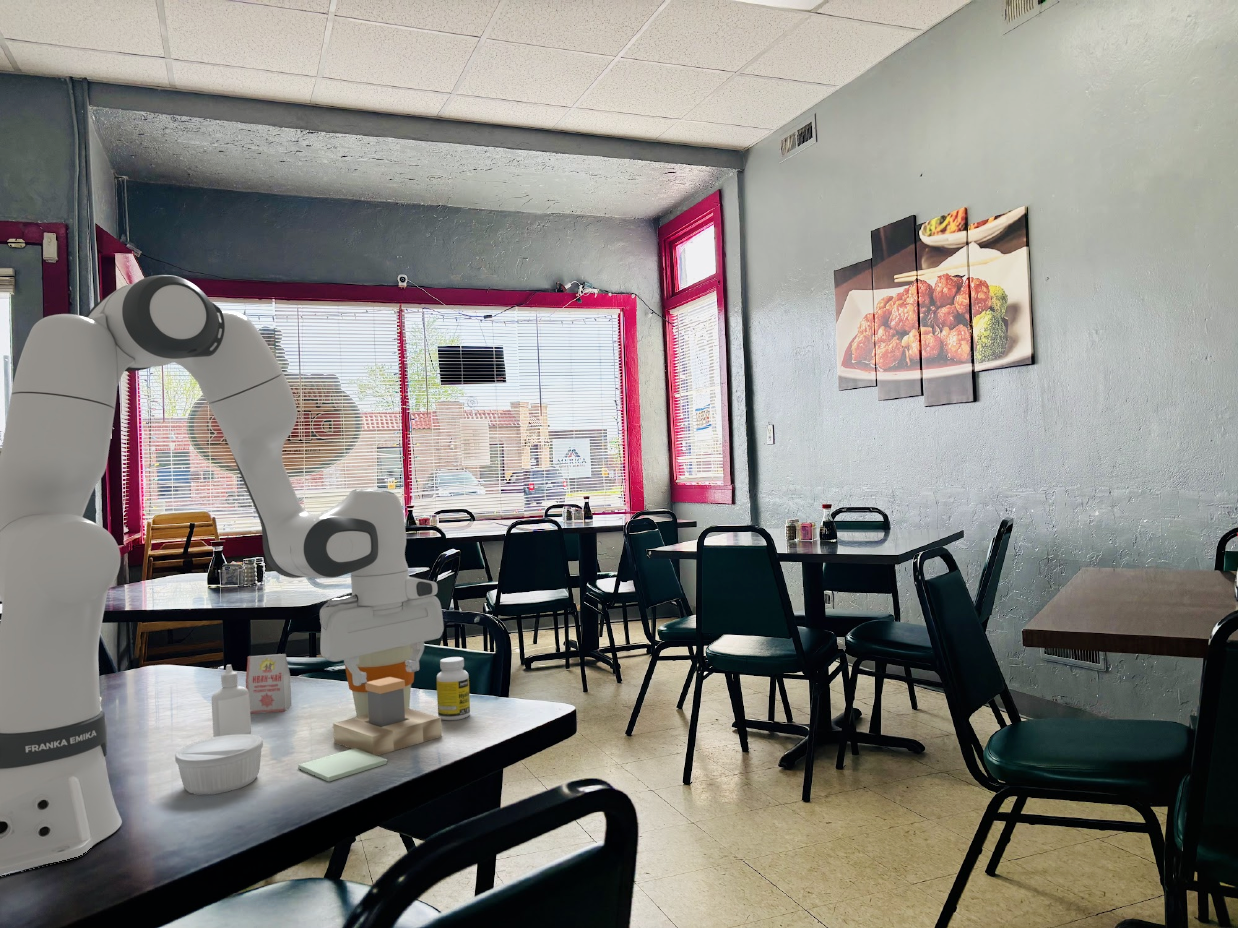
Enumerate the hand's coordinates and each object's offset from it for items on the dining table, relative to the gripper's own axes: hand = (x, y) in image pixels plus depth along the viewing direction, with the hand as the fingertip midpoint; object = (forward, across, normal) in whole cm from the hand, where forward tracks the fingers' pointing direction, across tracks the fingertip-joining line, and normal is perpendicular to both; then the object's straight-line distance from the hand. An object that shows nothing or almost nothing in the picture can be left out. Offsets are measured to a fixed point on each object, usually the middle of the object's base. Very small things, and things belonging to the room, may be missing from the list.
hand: (387, 677), depth 141 cm
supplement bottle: (+10, +13, +2) cm, 17 cm away
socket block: (+10, -1, 0) cm, 10 cm away
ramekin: (+10, -26, +2) cm, 27 cm away
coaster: (+9, -12, -6) cm, 16 cm away
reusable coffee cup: (+10, +7, +15) cm, 19 cm away
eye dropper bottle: (+10, -16, +23) cm, 29 cm away
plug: (+10, -1, 0) cm, 10 cm away
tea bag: (+10, -4, +36) cm, 37 cm away
